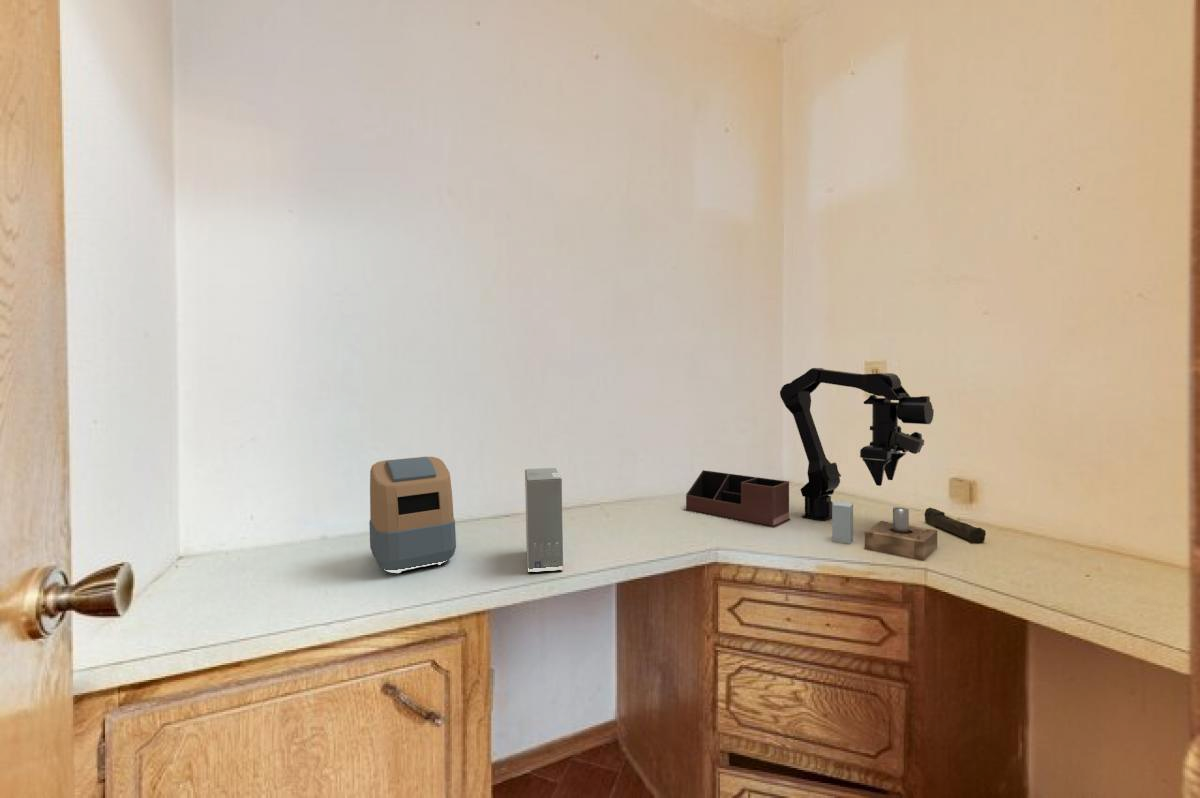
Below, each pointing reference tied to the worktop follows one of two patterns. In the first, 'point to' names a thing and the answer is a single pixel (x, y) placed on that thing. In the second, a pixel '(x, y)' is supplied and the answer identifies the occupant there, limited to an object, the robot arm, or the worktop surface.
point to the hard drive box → (543, 518)
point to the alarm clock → (411, 513)
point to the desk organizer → (740, 498)
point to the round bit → (901, 520)
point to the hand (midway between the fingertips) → (884, 482)
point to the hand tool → (954, 526)
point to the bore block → (901, 541)
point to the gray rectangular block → (842, 522)
